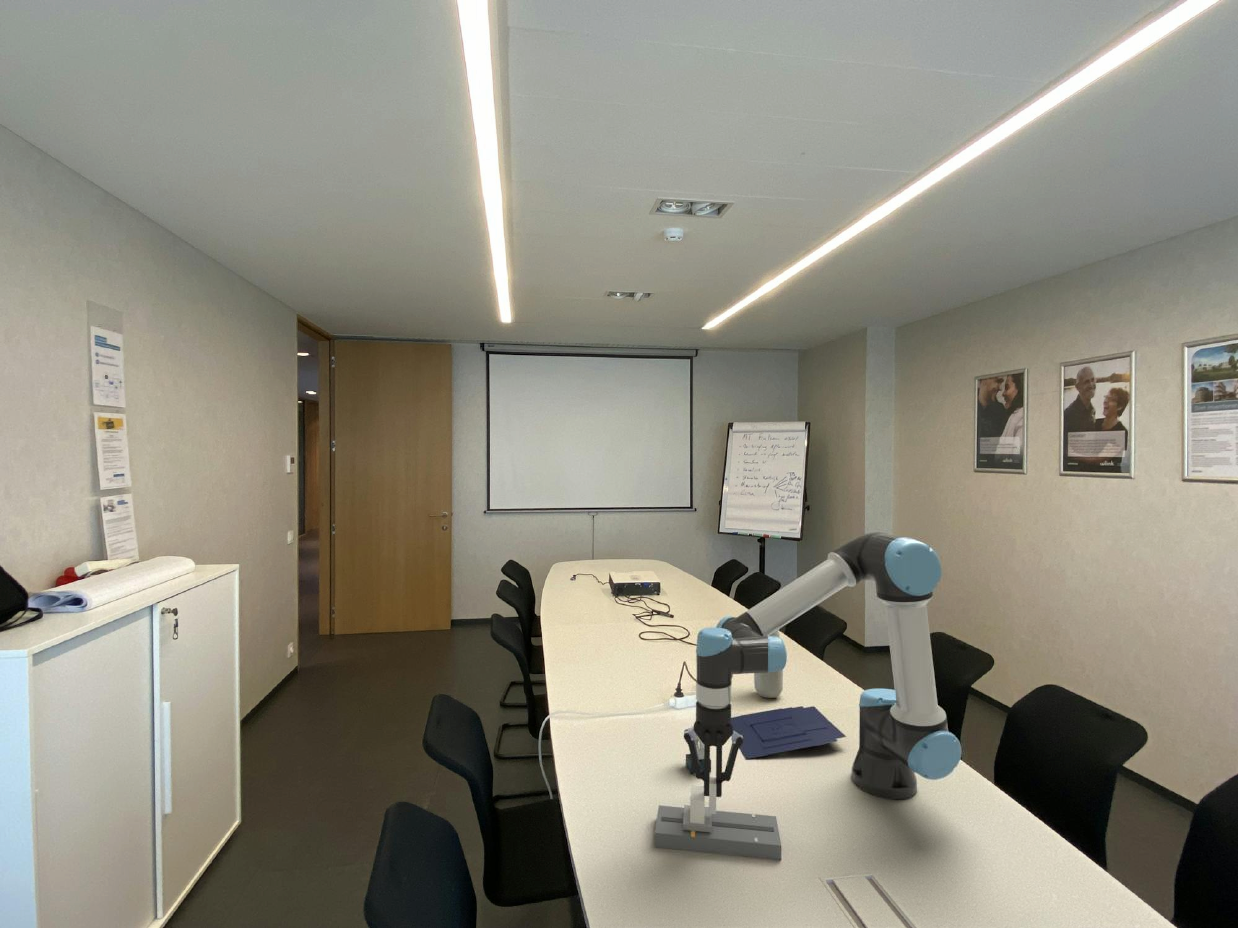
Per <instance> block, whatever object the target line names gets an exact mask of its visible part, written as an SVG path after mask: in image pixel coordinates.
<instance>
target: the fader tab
mask: <svg viewBox="0 0 1238 928" xmlns="http://www.w3.org/2000/svg"><path fill="white" fill-rule="evenodd" d="M705 798H706V796H705V795H704V785H694V784H692V785H690V798H689V800H690V802H689V803H690V804H688V805H686V804H684V805H683V808H684V817H683V830H691V831H701V832H711V833H712V814H709V807H708V806H706V804H705V803H706V799H705Z"/></svg>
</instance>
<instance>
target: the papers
mask: <svg viewBox="0 0 1238 928" xmlns="http://www.w3.org/2000/svg"><path fill="white" fill-rule="evenodd" d="M731 724H732V726H733V730H734V731H735V732H737V733H741V734H742V735H743V743H742V745H741V746H740V748H739V749H740V751H741V752H742V755H743V756H744V758H745V759H747V760H748V759H752V758H760V757H765V756H768V755H773V754H777V753H782V752H788V751H793V750H799V749H800V750H801V749H805V748H810V747H818V746H822V745H823V746H824V745H827V744H828V743H833V742H838V739H842V738H847V735H845V734H844V733H843V732H842V731H841V730H840V729H839V728H838V727H837V726H835V724H833V723H832V722H831V721H830V720H829V719H828V718H827V717H826V716H825V715H824V714H823V713H822V712H820V710H819V709H818V708H817V707H816V706H809V707H804V706H803V705H802V706H796V707H795V706H794V707H792V706H790V707H785V708H782V707H781V708H777V709H776V708H775V709H771V710H764V711H759V712H753V713H747V714H741V715H738V716H731Z"/></svg>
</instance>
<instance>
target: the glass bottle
mask: <svg viewBox="0 0 1238 928" xmlns="http://www.w3.org/2000/svg"><path fill="white" fill-rule="evenodd" d="M779 630H780V629H778V630H777V631H775V632H774V633H772V634H771V635H769V636H777V637H779V638H781V637H780V632H779ZM783 677H784V669H783V670H781V671H776V672H770V673H753V680H754V681H753V682H754V683H753V684H754V689H755V692H756V694H758V695H759V696H760V697H762V698H766V699H774V698H777V697H779V696H780V695H781V693H782V692H783V688H784V686H783V685H784V682H783V681H784V678H783Z"/></svg>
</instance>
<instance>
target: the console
mask: <svg viewBox="0 0 1238 928" xmlns="http://www.w3.org/2000/svg"><path fill="white" fill-rule="evenodd" d="M683 817H684V807H681V806H672V805H671V806H670V805H661V804H659V805H658V810H657V815H656V821H655V828H654V829H655V830H654V847H655V848H664V849H673V850H682V851H689V852H690V851H692V852H701V853H710V854H711V853H712V854H720V855H729V856H739V857H747V858H748V857H749V858H758V859H767V860H776V861H777V860H778V861H779V860H780V861H782V840H781V837H780V836H781V835H780V832H779V831H780V830H779V825H778V819H777V816H775V815H768V814H767V815H766V814H756V813H744V812H733V811H723V810H716V814H712V833H711V832H701V831H691V830H683Z"/></svg>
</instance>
